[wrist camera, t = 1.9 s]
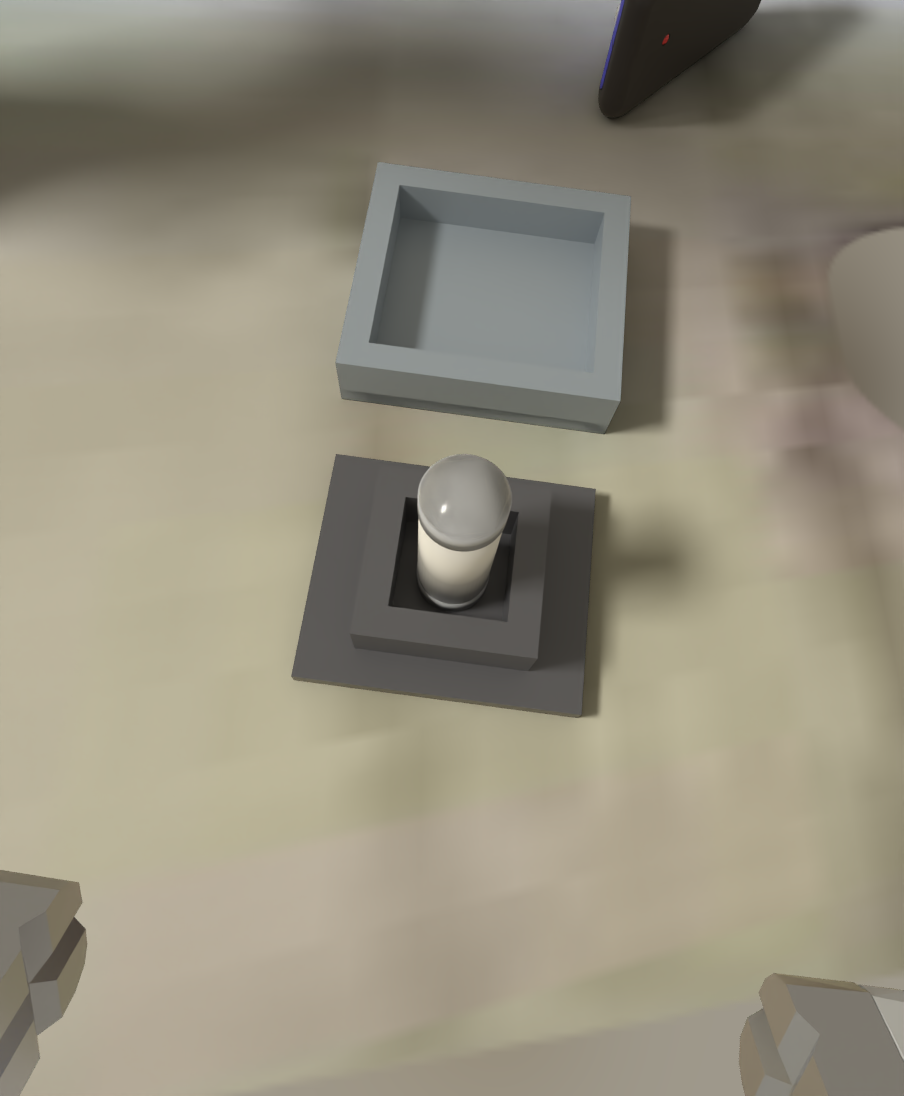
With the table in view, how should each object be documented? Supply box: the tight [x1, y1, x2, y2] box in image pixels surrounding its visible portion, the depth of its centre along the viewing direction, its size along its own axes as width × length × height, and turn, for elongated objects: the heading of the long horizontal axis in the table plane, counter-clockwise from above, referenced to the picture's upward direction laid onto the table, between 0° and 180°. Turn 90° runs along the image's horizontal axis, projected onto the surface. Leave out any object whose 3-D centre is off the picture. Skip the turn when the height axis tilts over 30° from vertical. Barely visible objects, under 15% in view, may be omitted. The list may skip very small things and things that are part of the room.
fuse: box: [416, 454, 512, 612], centre depth 33 cm, size 4×4×10 cm
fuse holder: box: [291, 454, 596, 718], centre depth 37 cm, size 14×12×4 cm
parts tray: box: [336, 162, 631, 434], centre depth 43 cm, size 15×14×4 cm
